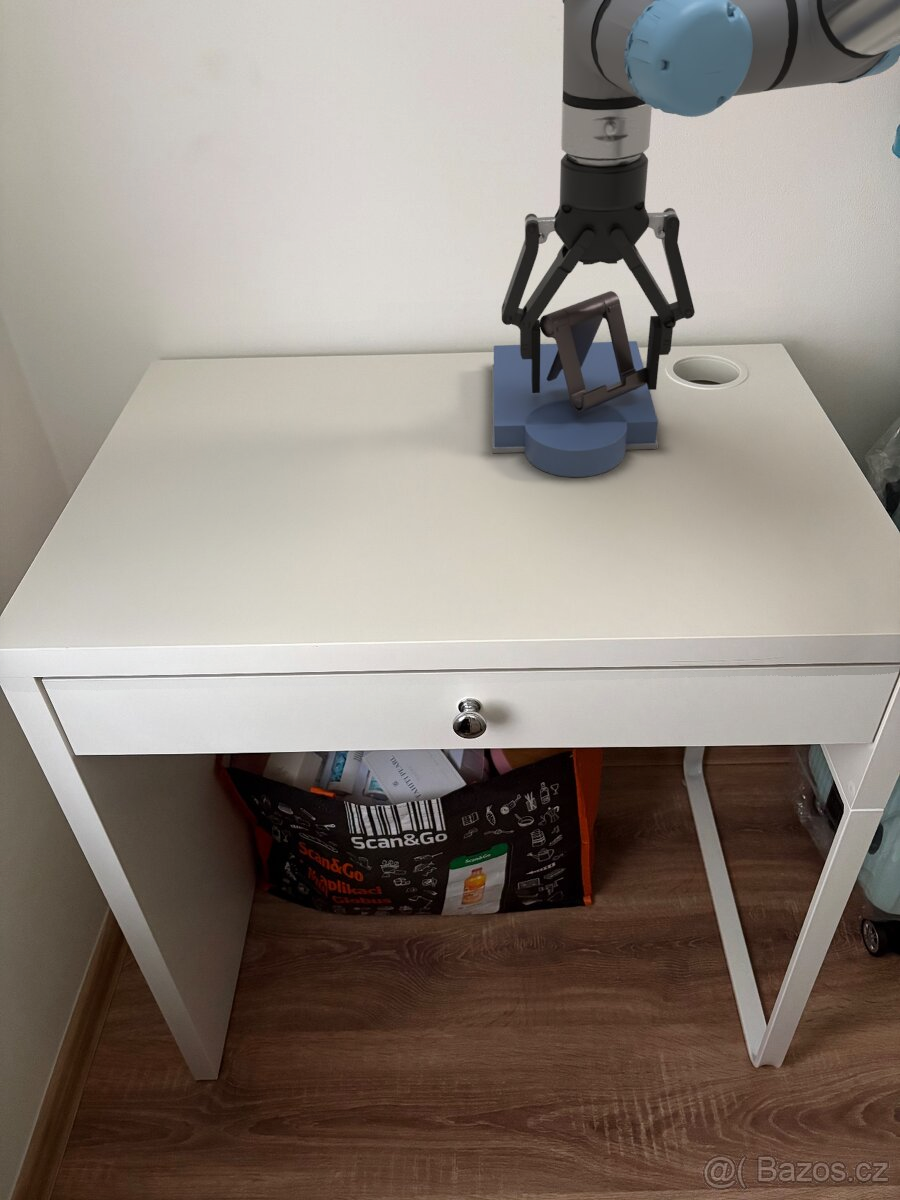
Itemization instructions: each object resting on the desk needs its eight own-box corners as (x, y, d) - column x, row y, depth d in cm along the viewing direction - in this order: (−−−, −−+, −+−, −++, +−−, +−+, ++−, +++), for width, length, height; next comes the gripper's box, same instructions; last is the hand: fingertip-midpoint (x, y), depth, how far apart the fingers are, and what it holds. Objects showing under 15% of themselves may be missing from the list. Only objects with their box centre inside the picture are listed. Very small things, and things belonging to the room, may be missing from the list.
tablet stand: (582, 417, 93) (586, 335, 88) (529, 388, 98) (530, 309, 93) (647, 388, 97) (655, 309, 92) (593, 362, 102) (597, 285, 97)
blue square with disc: (664, 475, 92) (667, 448, 90) (492, 479, 93) (492, 452, 91) (636, 364, 110) (638, 340, 108) (492, 369, 111) (491, 344, 109)
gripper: (468, 172, 81) (477, 406, 95) (750, 160, 80) (716, 399, 94) (470, 146, 87) (477, 371, 101) (733, 135, 85) (703, 364, 100)
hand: (592, 385), depth 97 cm, fingers closed on tablet stand, 11 cm apart
